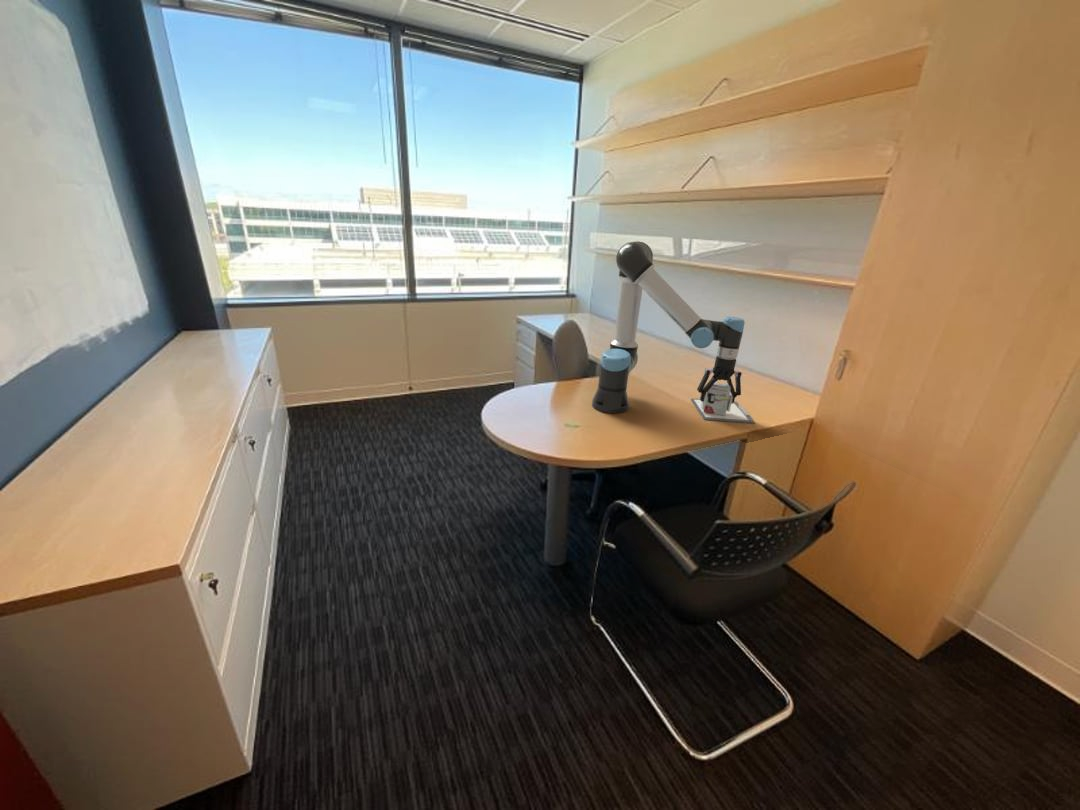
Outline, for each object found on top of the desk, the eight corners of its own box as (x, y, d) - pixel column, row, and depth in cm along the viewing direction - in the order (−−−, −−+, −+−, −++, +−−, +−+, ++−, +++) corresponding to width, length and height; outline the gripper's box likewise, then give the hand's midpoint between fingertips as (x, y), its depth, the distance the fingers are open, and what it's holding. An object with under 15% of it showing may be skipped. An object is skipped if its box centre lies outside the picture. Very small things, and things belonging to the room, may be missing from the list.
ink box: (703, 411, 182) (707, 384, 178) (704, 407, 186) (709, 381, 182) (725, 415, 179) (730, 388, 174) (726, 411, 183) (731, 384, 178)
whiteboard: (703, 419, 177) (704, 417, 176) (690, 399, 197) (691, 397, 196) (754, 423, 176) (755, 420, 175) (736, 403, 196) (736, 400, 196)
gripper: (700, 357, 171) (689, 410, 179) (758, 361, 169) (745, 415, 178) (695, 352, 177) (685, 403, 186) (751, 356, 176) (739, 407, 185)
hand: (714, 409), depth 182 cm, fingers closed on ink box, 9 cm apart
